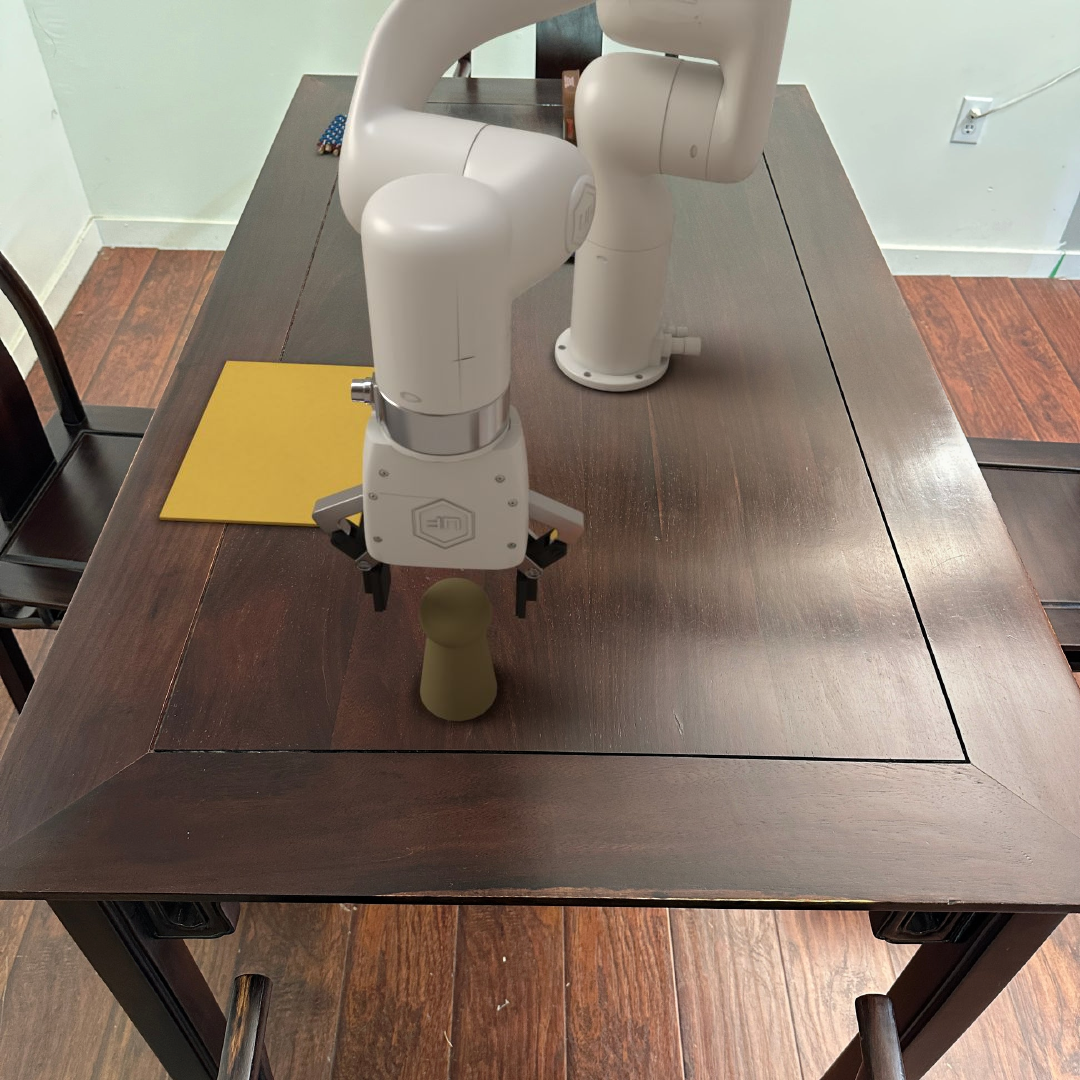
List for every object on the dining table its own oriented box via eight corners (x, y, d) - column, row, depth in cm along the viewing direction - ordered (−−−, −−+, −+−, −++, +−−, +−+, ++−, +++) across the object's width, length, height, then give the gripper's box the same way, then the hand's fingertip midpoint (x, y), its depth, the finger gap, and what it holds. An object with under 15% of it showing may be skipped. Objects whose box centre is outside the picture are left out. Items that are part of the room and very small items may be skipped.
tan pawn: (487, 728, 73) (486, 637, 65) (410, 713, 74) (399, 621, 66) (505, 665, 77) (506, 572, 69) (432, 651, 78) (424, 558, 70)
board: (394, 370, 104) (394, 367, 104) (359, 528, 87) (358, 525, 87) (227, 363, 104) (226, 360, 104) (159, 520, 87) (158, 517, 87)
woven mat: (335, 124, 147) (334, 111, 145) (404, 131, 146) (403, 117, 145) (315, 154, 140) (313, 140, 138) (386, 161, 139) (385, 147, 137)
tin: (581, 159, 141) (584, 100, 135) (559, 158, 141) (562, 100, 135) (579, 117, 152) (582, 61, 146) (559, 116, 152) (562, 60, 146)
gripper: (278, 435, 52) (318, 636, 64) (596, 450, 52) (576, 647, 65) (306, 356, 58) (337, 555, 70) (594, 370, 58) (576, 566, 70)
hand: (452, 599), depth 67 cm, fingers open, 9 cm apart
